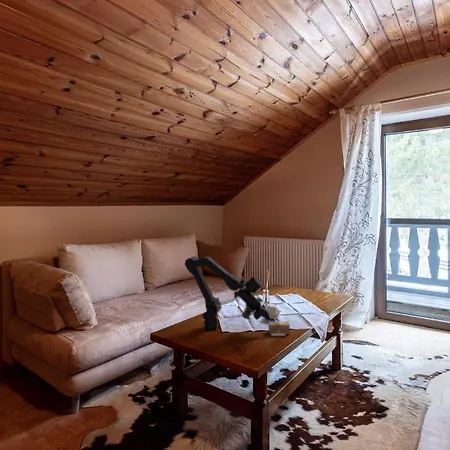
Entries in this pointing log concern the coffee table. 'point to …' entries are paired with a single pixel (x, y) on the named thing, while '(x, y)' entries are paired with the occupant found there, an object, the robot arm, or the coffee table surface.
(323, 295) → the coffee table surface
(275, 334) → the felt mat
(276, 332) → the cardboard box
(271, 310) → the beige lumpy ball
